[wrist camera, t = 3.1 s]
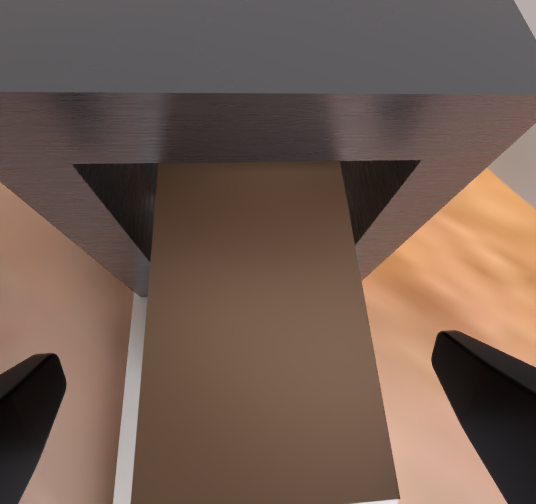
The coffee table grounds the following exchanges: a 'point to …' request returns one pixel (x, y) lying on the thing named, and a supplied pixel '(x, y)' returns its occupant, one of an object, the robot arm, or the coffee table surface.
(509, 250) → the coffee table surface
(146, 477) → the walnut bar
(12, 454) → the robot arm
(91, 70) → the tunnel
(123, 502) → the plate
